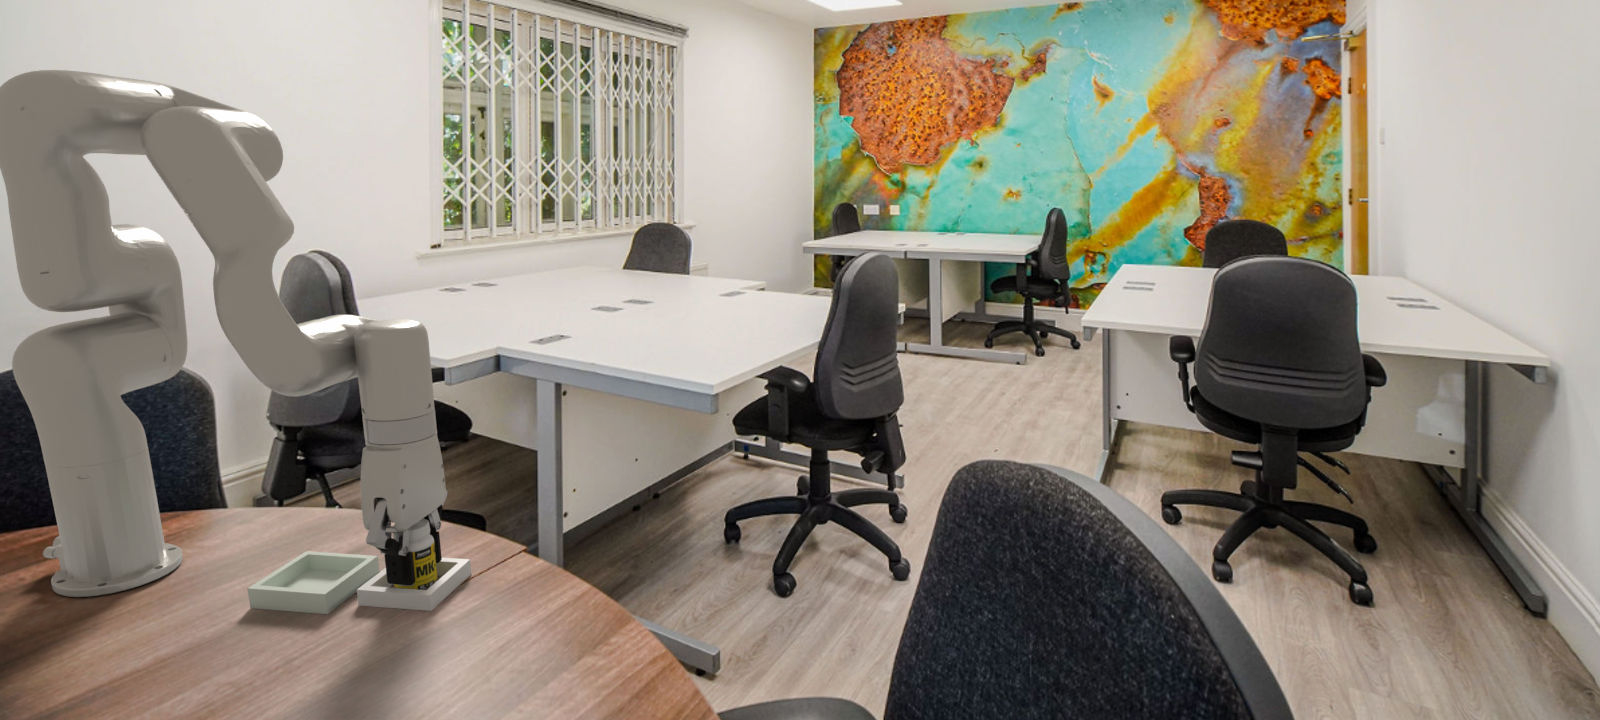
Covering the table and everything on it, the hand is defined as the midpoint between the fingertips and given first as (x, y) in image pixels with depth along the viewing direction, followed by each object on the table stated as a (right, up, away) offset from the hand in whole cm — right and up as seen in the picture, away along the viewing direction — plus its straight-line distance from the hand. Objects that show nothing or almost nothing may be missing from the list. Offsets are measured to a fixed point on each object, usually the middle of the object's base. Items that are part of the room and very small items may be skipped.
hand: (415, 570), depth 98 cm
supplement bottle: (0, -3, +1) cm, 3 cm away
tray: (-12, -2, 0) cm, 12 cm away
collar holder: (0, -2, +1) cm, 2 cm away
